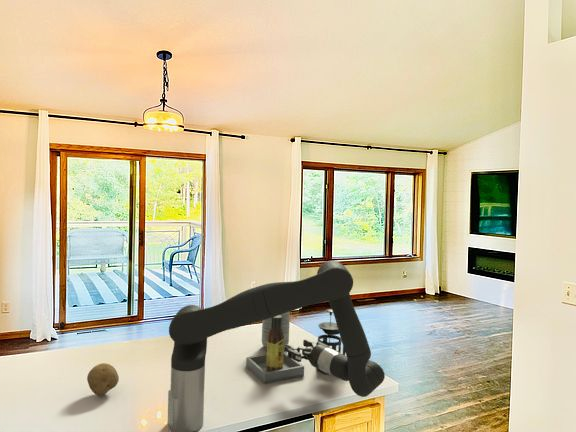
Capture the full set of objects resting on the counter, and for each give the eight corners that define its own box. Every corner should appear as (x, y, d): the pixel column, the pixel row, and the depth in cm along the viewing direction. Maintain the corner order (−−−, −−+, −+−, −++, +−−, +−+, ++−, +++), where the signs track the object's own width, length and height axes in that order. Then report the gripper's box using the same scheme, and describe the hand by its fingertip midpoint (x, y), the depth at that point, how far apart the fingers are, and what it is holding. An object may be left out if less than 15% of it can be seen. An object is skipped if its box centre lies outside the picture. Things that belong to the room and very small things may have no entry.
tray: (264, 383, 144) (264, 374, 144) (246, 366, 158) (246, 357, 158) (303, 375, 152) (304, 366, 152) (283, 359, 166) (283, 351, 166)
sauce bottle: (280, 373, 151) (283, 319, 150) (264, 371, 152) (266, 318, 151) (284, 366, 157) (286, 314, 157) (268, 364, 159) (270, 313, 158)
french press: (319, 375, 152) (322, 313, 151) (310, 365, 161) (313, 307, 160) (348, 373, 156) (351, 312, 155) (338, 363, 165) (341, 305, 164)
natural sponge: (109, 385, 139) (110, 356, 138) (123, 394, 133) (124, 363, 132) (82, 395, 132) (82, 364, 131) (95, 404, 126) (96, 372, 125)
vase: (257, 350, 175) (259, 296, 174) (266, 341, 186) (268, 290, 185) (283, 354, 172) (285, 299, 170) (291, 345, 183) (293, 293, 182)
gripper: (343, 344, 138) (310, 330, 150) (311, 353, 129) (279, 337, 141) (342, 366, 138) (309, 351, 151) (310, 376, 129) (278, 359, 142)
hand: (294, 344), depth 146 cm, fingers open, 8 cm apart
